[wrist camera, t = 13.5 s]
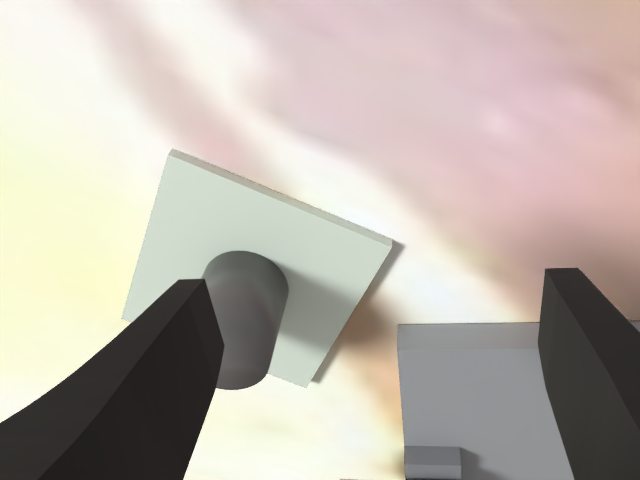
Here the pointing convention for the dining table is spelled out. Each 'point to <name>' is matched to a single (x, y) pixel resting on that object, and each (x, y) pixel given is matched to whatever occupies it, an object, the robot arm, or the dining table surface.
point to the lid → (255, 268)
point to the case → (477, 404)
